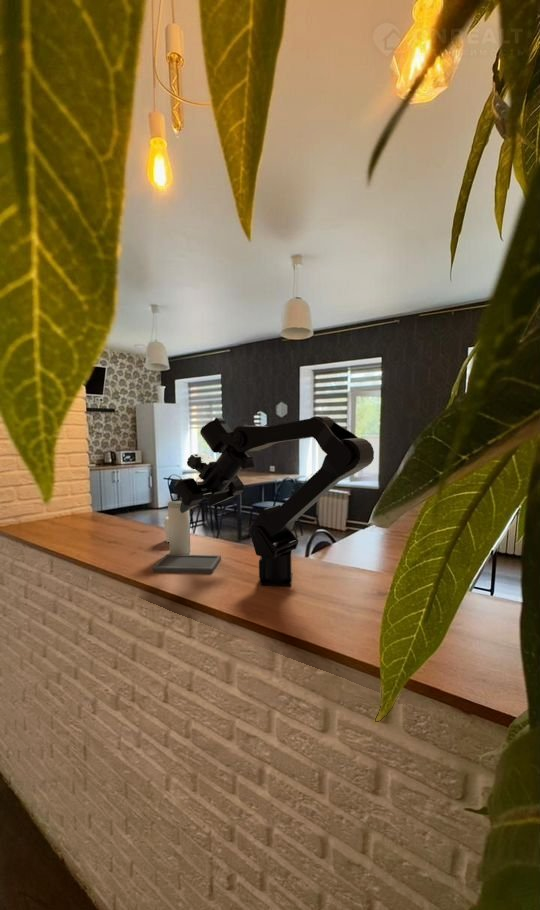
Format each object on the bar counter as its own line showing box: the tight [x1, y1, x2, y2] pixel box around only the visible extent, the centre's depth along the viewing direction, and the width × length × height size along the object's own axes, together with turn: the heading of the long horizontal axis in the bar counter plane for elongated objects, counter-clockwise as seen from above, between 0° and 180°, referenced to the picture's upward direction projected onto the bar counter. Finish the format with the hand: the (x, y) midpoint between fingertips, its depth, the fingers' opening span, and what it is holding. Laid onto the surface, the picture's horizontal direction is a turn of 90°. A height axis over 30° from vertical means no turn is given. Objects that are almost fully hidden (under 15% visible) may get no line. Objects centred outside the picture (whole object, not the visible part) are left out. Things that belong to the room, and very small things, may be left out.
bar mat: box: [152, 553, 222, 574], centre depth 96 cm, size 14×9×1 cm, turn 84°
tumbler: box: [167, 500, 191, 555], centre depth 105 cm, size 6×6×14 cm
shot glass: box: [162, 515, 169, 543], centre depth 117 cm, size 7×7×7 cm
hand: (195, 508), depth 101 cm, fingers open, 9 cm apart
